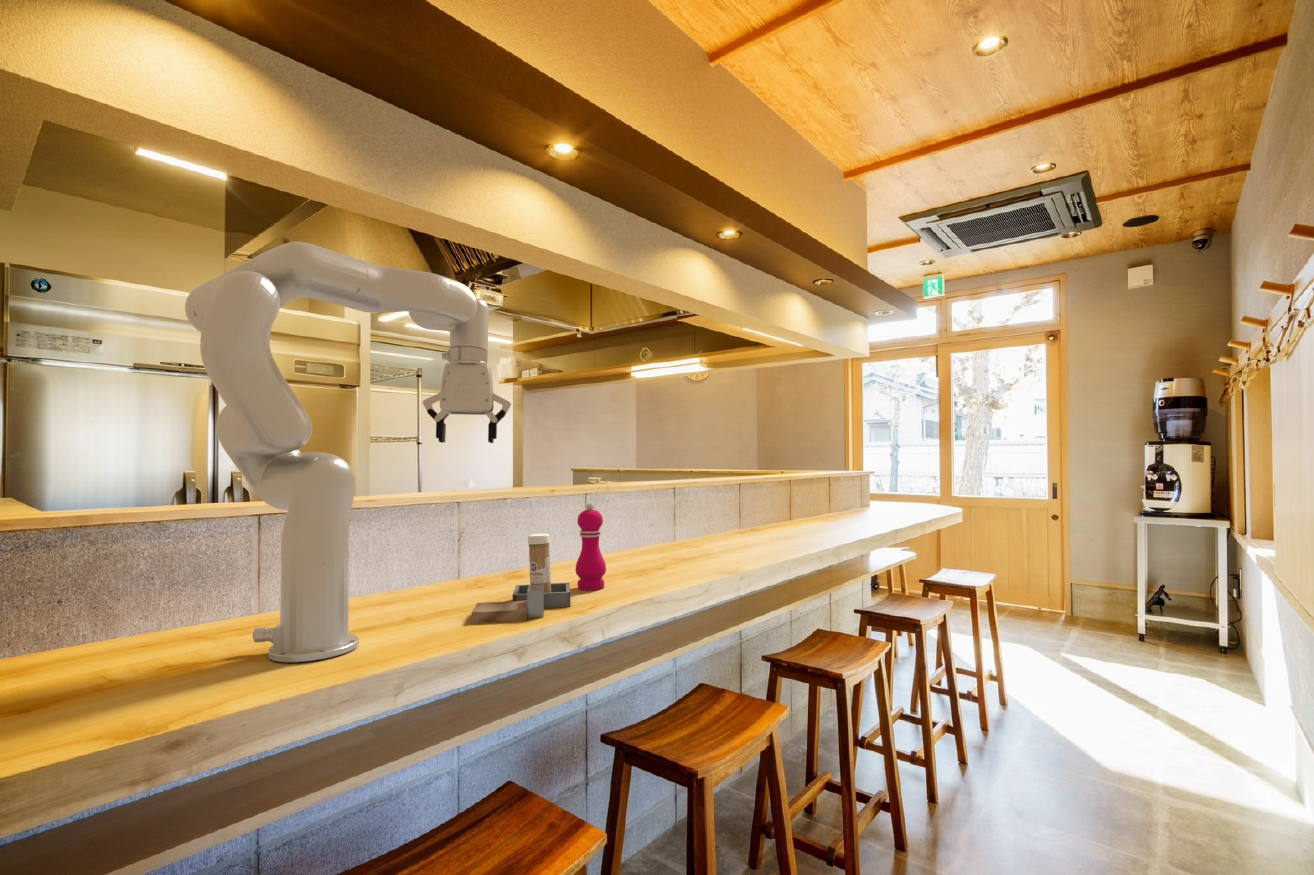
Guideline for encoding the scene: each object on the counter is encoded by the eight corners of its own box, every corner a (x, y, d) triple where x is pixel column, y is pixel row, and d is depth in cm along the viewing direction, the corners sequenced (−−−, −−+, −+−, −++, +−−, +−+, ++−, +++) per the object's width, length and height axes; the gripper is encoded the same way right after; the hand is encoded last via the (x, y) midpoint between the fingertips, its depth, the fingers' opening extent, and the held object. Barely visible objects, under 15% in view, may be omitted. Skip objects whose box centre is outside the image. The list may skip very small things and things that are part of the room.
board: (471, 626, 113) (471, 612, 113) (477, 615, 121) (477, 602, 121) (526, 623, 114) (526, 609, 115) (528, 613, 122) (528, 600, 122)
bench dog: (527, 618, 116) (527, 591, 116) (528, 610, 122) (528, 585, 122) (543, 617, 117) (543, 590, 117) (544, 609, 123) (543, 584, 123)
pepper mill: (608, 585, 147) (607, 501, 148) (603, 591, 140) (602, 503, 141) (579, 584, 148) (578, 502, 149) (572, 591, 141) (571, 504, 142)
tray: (512, 609, 123) (512, 595, 123) (516, 598, 134) (515, 585, 134) (570, 606, 125) (570, 592, 125) (569, 595, 136) (569, 582, 136)
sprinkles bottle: (526, 600, 128) (523, 535, 129) (536, 596, 132) (533, 533, 133) (546, 600, 127) (543, 535, 127) (556, 595, 131) (552, 532, 132)
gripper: (420, 354, 120) (417, 440, 119) (509, 356, 123) (508, 441, 122) (428, 361, 128) (426, 443, 126) (513, 364, 130) (511, 444, 129)
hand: (466, 442), depth 124 cm, fingers open, 9 cm apart
